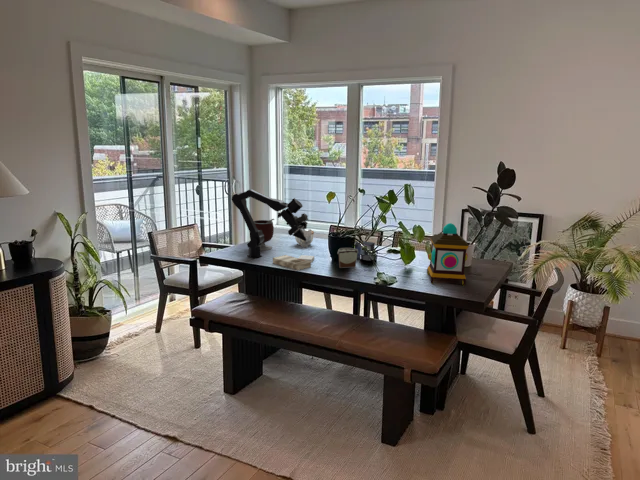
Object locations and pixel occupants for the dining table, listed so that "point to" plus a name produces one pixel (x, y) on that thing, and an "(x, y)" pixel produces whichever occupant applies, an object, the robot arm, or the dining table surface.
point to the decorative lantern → (447, 255)
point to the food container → (347, 257)
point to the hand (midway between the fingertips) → (307, 239)
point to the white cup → (308, 237)
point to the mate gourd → (265, 232)
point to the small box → (358, 246)
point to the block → (307, 258)
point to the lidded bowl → (299, 239)
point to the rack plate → (291, 262)
